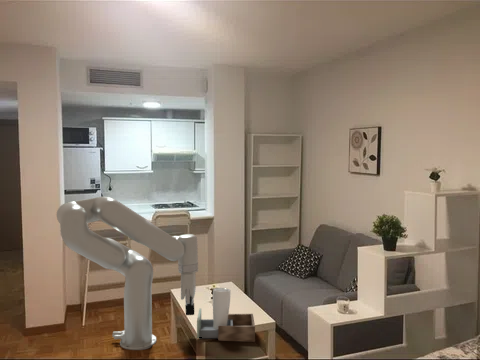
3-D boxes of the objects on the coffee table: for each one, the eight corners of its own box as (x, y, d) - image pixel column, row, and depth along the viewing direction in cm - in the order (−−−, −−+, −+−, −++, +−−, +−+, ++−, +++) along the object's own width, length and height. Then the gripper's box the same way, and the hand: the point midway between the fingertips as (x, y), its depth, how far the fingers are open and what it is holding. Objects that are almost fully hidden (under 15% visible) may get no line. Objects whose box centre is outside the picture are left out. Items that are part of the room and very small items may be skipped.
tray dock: (218, 342, 147) (218, 326, 147) (219, 328, 160) (219, 313, 160) (254, 342, 148) (255, 326, 148) (252, 328, 160) (252, 313, 160)
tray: (197, 339, 147) (197, 320, 147) (199, 325, 160) (199, 308, 159) (232, 339, 148) (233, 320, 147) (232, 325, 160) (232, 308, 160)
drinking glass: (230, 327, 156) (232, 288, 156) (225, 333, 149) (227, 292, 150) (214, 325, 157) (216, 287, 158) (208, 330, 151) (210, 290, 152)
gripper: (180, 262, 160) (182, 307, 161) (175, 273, 145) (177, 323, 146) (199, 261, 160) (201, 306, 161) (196, 272, 145) (198, 322, 146)
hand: (190, 314), depth 153 cm, fingers closed
